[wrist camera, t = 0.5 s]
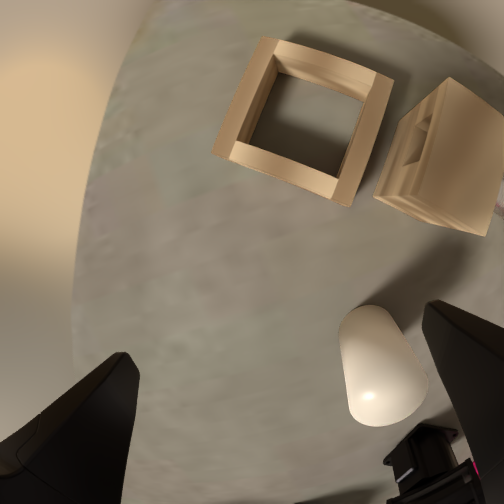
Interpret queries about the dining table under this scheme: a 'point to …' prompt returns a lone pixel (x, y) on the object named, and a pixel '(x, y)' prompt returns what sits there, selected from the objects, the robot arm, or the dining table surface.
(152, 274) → the dining table surface
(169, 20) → the dining table surface
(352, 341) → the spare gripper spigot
